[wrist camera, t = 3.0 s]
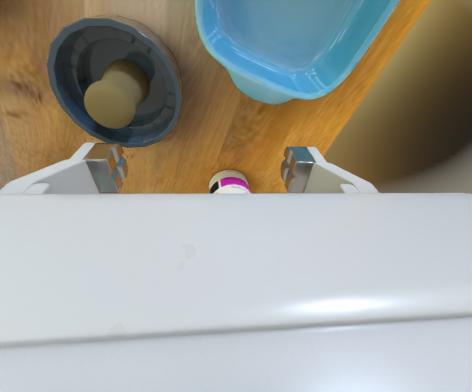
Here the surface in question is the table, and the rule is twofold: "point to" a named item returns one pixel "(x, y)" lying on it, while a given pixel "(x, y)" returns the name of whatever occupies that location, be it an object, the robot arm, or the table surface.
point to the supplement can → (229, 183)
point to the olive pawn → (117, 94)
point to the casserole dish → (289, 42)
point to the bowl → (94, 66)
